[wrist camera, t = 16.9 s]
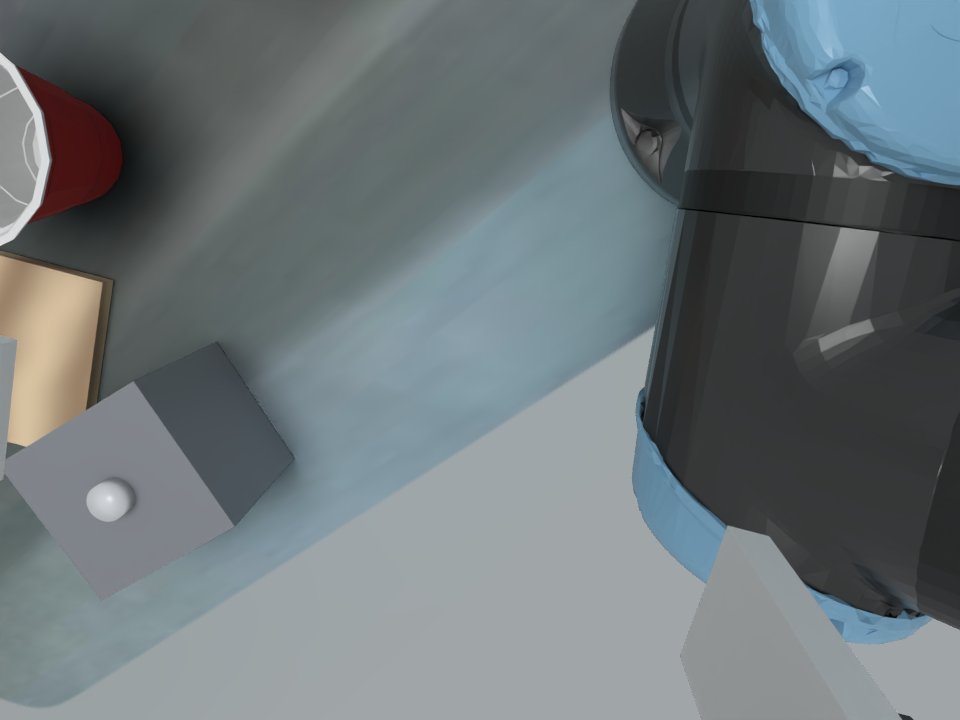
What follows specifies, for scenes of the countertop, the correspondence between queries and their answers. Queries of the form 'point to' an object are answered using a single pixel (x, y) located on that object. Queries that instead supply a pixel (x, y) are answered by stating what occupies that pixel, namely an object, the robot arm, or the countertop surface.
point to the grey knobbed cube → (151, 470)
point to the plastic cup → (49, 150)
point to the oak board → (52, 342)
